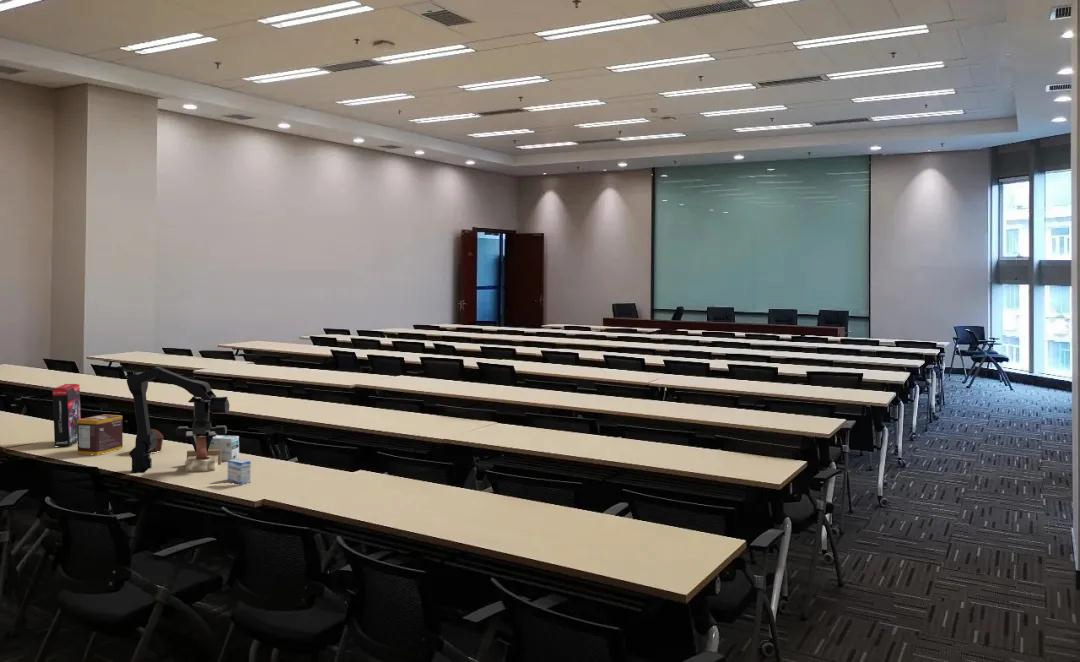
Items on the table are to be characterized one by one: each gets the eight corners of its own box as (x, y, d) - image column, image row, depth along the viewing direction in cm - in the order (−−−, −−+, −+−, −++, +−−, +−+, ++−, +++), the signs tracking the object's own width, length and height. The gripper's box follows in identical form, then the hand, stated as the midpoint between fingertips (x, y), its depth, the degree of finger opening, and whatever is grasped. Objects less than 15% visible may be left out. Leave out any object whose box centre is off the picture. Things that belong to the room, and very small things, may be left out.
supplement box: (123, 449, 364) (123, 415, 363) (96, 456, 349) (96, 420, 348) (104, 447, 366) (103, 413, 366) (77, 454, 352) (76, 419, 351)
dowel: (195, 460, 323) (195, 438, 322) (197, 458, 327) (197, 436, 326) (206, 459, 324) (206, 437, 323) (207, 457, 328) (207, 435, 327)
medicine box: (227, 482, 307) (227, 460, 306) (236, 480, 311) (236, 458, 310) (241, 485, 303) (241, 462, 303) (251, 483, 307) (251, 460, 307)
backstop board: (179, 478, 312) (179, 460, 311) (187, 467, 331) (187, 450, 331) (214, 477, 315) (214, 459, 315) (221, 466, 334) (221, 449, 334)
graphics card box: (69, 447, 366) (68, 388, 364) (52, 447, 364) (51, 388, 362) (81, 440, 382) (81, 383, 381) (65, 440, 381) (64, 383, 379)
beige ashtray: (185, 471, 319) (184, 461, 318) (189, 465, 329) (189, 455, 329) (214, 470, 322) (214, 460, 321) (218, 464, 332) (218, 455, 332)
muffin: (134, 450, 361) (134, 428, 361) (161, 448, 367) (161, 426, 367) (138, 455, 351) (137, 433, 351) (165, 453, 357) (165, 430, 357)
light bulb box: (239, 460, 346) (239, 435, 345) (232, 463, 339) (232, 438, 339) (216, 459, 347) (215, 434, 346) (208, 462, 340) (207, 437, 340)
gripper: (172, 417, 314) (173, 456, 315) (223, 416, 319) (223, 454, 320) (177, 412, 325) (178, 450, 326) (227, 411, 330) (227, 449, 330)
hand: (201, 451), depth 325 cm, fingers closed on dowel, 4 cm apart
